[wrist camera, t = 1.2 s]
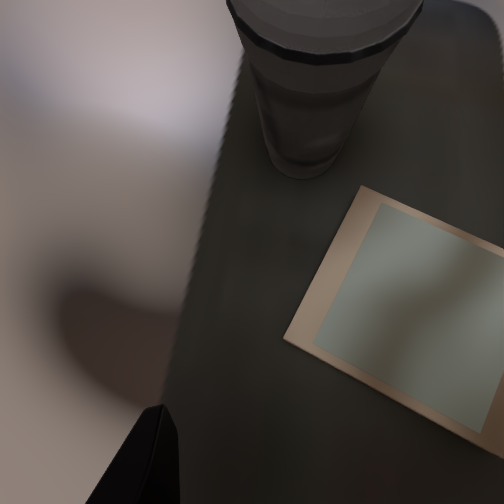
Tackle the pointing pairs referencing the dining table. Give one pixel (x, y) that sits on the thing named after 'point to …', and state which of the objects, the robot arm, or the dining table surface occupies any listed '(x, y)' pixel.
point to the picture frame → (412, 316)
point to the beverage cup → (316, 70)
